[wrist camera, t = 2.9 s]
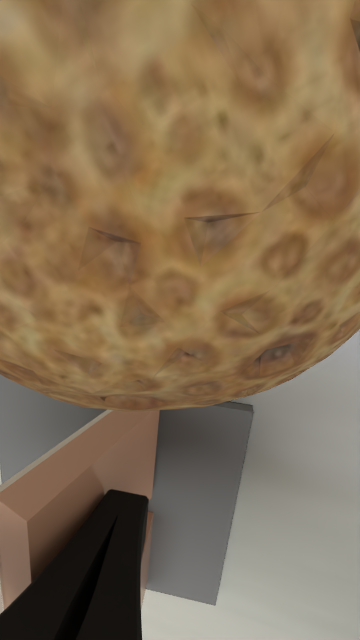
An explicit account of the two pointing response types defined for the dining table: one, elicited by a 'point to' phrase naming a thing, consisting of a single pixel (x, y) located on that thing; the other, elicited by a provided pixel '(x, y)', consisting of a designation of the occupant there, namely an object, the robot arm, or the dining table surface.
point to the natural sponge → (176, 196)
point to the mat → (169, 478)
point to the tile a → (70, 491)
